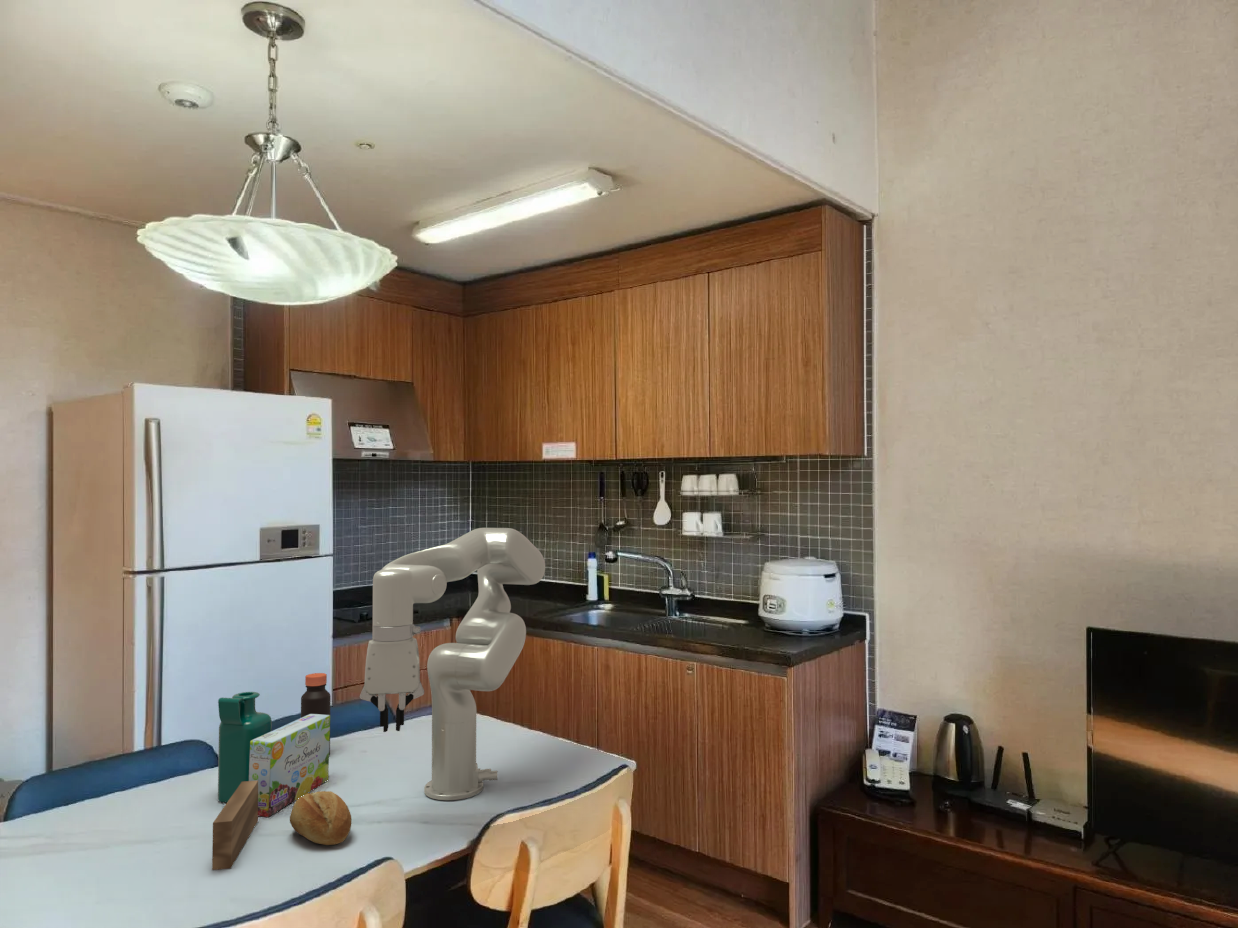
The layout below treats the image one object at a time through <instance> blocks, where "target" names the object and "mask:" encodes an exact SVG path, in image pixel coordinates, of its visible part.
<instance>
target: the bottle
mask: <svg viewBox="0 0 1238 928" xmlns="http://www.w3.org/2000/svg"><path fill="white" fill-rule="evenodd" d="M327 676H328V675H327V674H326V673H325V672H324V673H323V672H313V673H309V674H307V675H305V680H304V682H305V683H304V685H305V688H306V690H305V692H304V693H303V694H302V695H301V698H300V718H302V717H304V716H307V715H309V714H322V715H330V716H331V700H332V699H331V693H330V692H329V691H328V690H327V689H326V686H327V683H328V681H327ZM330 755H331V737H330V738H329V756H330Z"/></svg>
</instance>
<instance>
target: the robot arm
mask: <svg viewBox="0 0 1238 928" xmlns="http://www.w3.org/2000/svg"><path fill="white" fill-rule="evenodd" d="M476 571H477V583H478V585H477V586H478V595H477V598H476V599H475V601H474V603H473V604H472V606H471V607H470V608H469V610H468V611H467V612H466V614H465V615H464V617H463V618H462V620H461V622H460V623H459V625H458V627H457V629H456V632H455V641H456V642H447V643H443V644H439V645H438V646H436V647H434V648H433V649H432V650H431V652H430V654H429V656H428V659H427V665H426V668H427V677H428V681H429V687H430V692H431V780H430V781H427V783H426V784H425V785H424V786H423V787H424V788H423V791H424V794H425V796H426V797H428V798H430V799H433V800H439V801H458V800H465V799H468V798H471V797H475V796H476V795H478V794H480V793H481V792H482V791H483V789H484V781H488V782H489V781H498V770H492V768H485V769H481V768H479V766H478V762H477V704H476V700H475V698H474V696H473V694H472V692H471V691H479V692H493V691H496V690H498V689H499V688H500V687H501V685H503V683H504V682H505V680H506V678H507V677H508V676H509V674H510V672H511V670H512V668H513V666H514V665H515V663H516V661H517V660H518V659H519V656H520V654H521V652H522V650H523V648H524V646H525V641H526V639H527V638H526V637H527V627H526V624H525V621H524V619H523V618H522V617H521V616H520V615H518V614H516V613H514V612H511V609H512V605H511V601H510V598H509V596H508V594H507V592H506V591H505V589H504V586H503V585H521V586H523V585H524V586H530V585H536V584H537V583H539V582H540V581H541V580H542V579H543V577H544V575H545V573H546V562H545V558H544V556H543V554H542V553H541V551H540V550H539V549H538V548H537V546H535V545H534V544H533V543H532V542H531V541H530V540H529V539H528V538H527V536H525V535H524V534H522V532H520V531H518V530H516V529H515V528H512V527H511V528H510V527H509V528H508V527H479V528H475V529H472V530H470V531H469V532H467V533H464V534H462V535H461V536H459V537H458V538H456V539H453V540H451V541H450V542H448V543H446V544H445V543H444V544H441V545H437V546H434V547H429V548H427V549H422V550H419V551H414V552H411V553H408V554H405V555H402V556H401V557H398V558H396V559H394V560H392V561H390V562H389V563H387V564H386V565H385V566H383V567H382V568H381V569H380V570H378V571H376V572H375V573H374V575H373V578H372V637H371V640H370V639H369V640H368V642H367V643H368V644H367V649H366V657H365V667H364V685H363V687H362V690H361V692H360V694H359V698H360V699H361V700H363V701H367V702H370V703H372V704H373V705H374V706H375V707H376V709H378V711H379V727H382V728H383V730H382V731H383V733H387V732H388V730H389V707H388V704H387V699H386V698H387V697H386V696H387V695H398V704H397V706H396V710H395V731H397V732H400V731H401V726H404V725H405V710H406V709H405V708H406V707H407V706H409V704H410V703H411V702H412V701H413V700H415V699H417V698H421V697H422V696H423V695H425V689H424V687H423V684H422V682H421V677H420V675H421V672H420V671H421V670H420V669H421V668H420V653H419V652H420V651H419V645H418V640H417V638H415V637H414V636H415V635H417V634H421V626H417V625H415V624H414V621H413V620H414V604H431V603H433V602H436V601H438V600H440V598H441V597H443V595H444V593H445V592H446V589H447V583H449V582H456V581H460V580H463V579H465V578H467V577H469V576H470V575H471V574H473V573H475V572H476Z"/></svg>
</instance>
